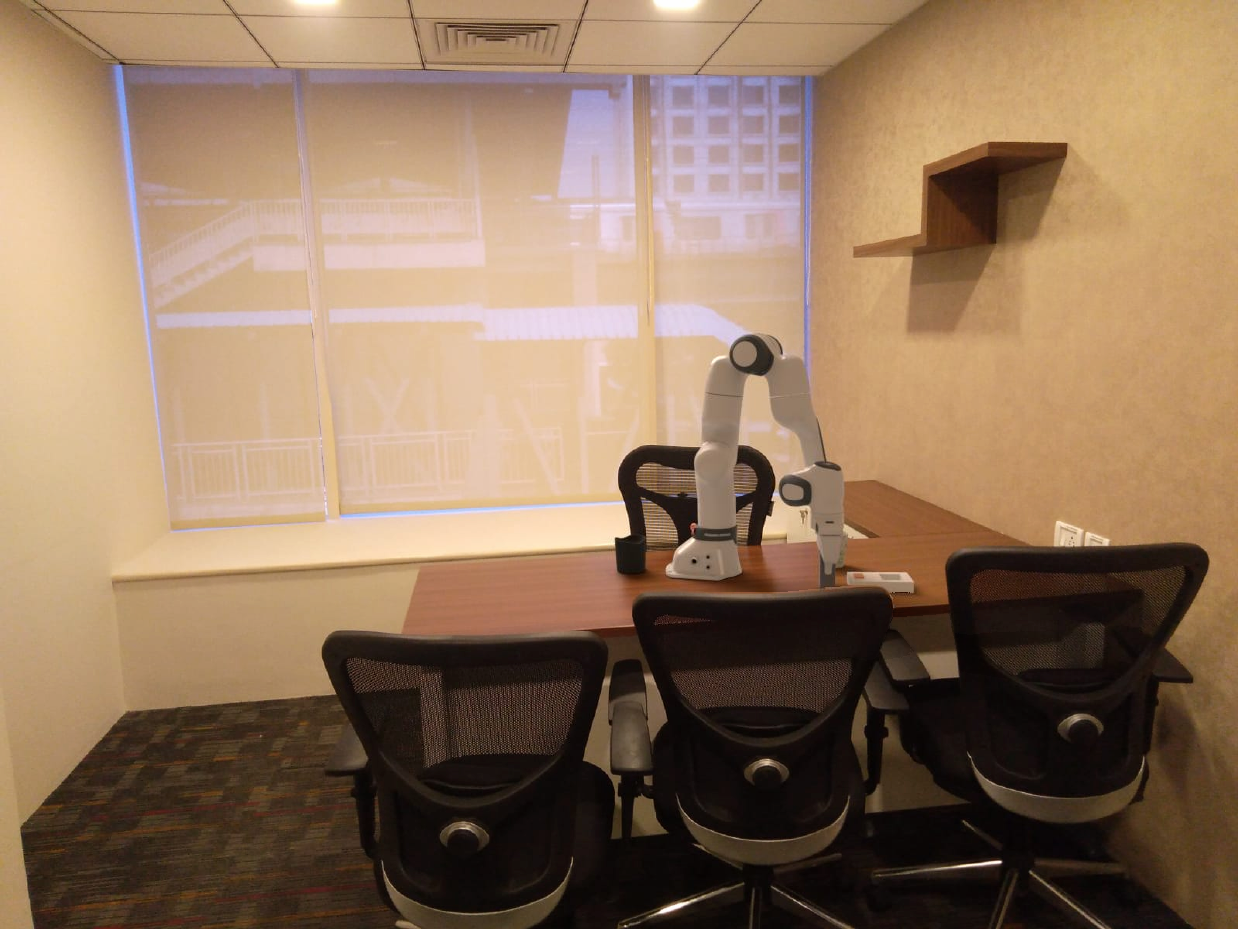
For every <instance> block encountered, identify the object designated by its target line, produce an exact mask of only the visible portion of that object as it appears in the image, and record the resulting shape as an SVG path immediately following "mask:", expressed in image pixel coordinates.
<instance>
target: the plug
mask: <svg viewBox="0 0 1238 929" xmlns="http://www.w3.org/2000/svg"><path fill="white" fill-rule="evenodd" d="M824 567H825V563H824V561H823V558H822V556H821V553H820V550H819V549H818V587H819V589H820V588H825V587H835V588H836V568H835V564H833V565H832V573H831V574H825V572H824Z"/></svg>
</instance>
